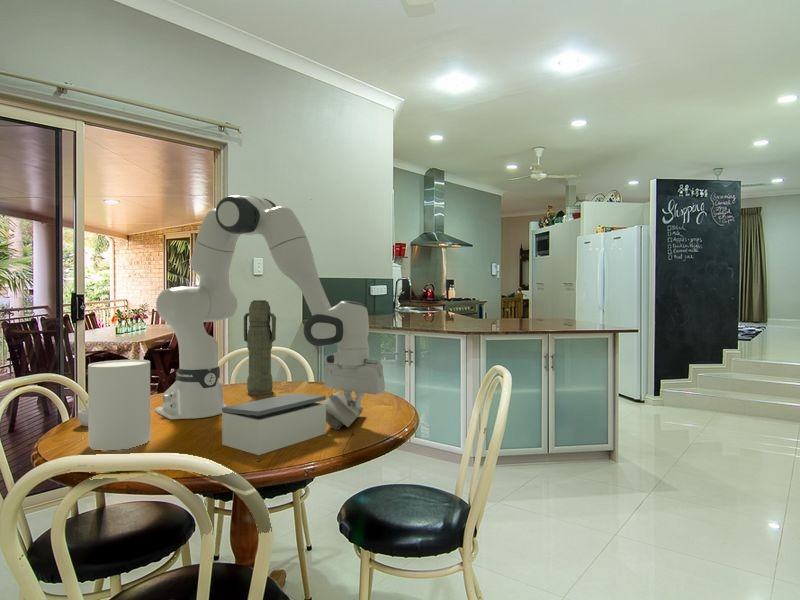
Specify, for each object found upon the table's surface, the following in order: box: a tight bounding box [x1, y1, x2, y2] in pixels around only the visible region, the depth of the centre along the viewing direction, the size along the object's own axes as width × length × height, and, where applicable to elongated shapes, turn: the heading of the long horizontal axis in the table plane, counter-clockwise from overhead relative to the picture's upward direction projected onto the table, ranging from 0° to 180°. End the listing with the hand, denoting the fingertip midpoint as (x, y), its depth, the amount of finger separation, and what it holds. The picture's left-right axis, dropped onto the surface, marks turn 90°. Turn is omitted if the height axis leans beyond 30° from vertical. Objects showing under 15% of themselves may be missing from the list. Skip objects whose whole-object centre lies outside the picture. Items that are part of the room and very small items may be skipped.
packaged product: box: [321, 391, 364, 431], centre depth 143 cm, size 18×5×10 cm
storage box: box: [221, 401, 327, 456], centre depth 129 cm, size 14×22×8 cm, turn 144°
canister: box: [87, 359, 152, 451], centre depth 125 cm, size 14×14×20 cm
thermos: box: [243, 299, 277, 396], centre depth 183 cm, size 9×12×35 cm
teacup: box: [77, 408, 88, 427], centre depth 141 cm, size 10×10×5 cm
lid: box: [222, 393, 327, 416], centre depth 129 cm, size 14×22×1 cm, turn 144°
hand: (353, 406), depth 142 cm, fingers closed
